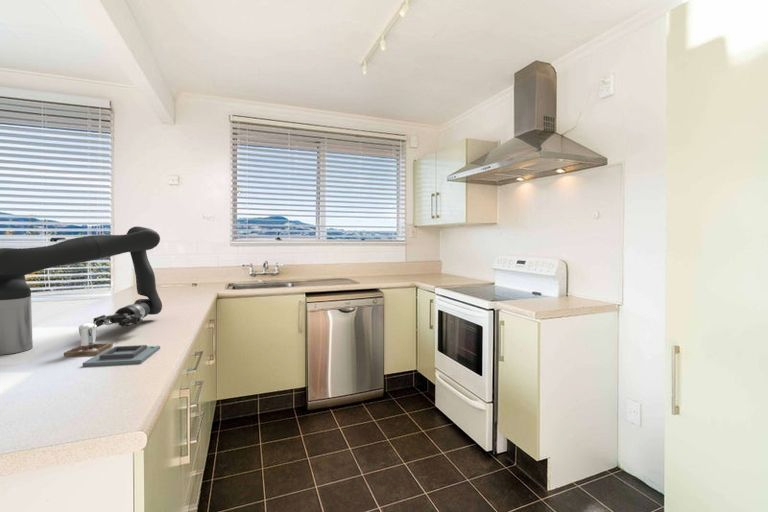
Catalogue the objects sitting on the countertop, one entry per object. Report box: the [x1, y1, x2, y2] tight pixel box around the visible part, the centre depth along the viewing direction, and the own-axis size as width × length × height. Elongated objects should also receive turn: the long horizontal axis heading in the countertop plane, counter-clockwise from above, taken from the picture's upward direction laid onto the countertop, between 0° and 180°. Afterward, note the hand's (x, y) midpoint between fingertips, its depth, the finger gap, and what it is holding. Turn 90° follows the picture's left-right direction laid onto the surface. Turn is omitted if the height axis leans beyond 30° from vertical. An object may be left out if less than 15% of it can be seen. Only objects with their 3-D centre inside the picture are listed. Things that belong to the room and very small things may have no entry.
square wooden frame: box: [63, 342, 113, 358], centre depth 114 cm, size 9×9×1 cm
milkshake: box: [78, 321, 98, 351], centre depth 114 cm, size 4×5×10 cm
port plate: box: [82, 344, 161, 368], centre depth 109 cm, size 15×14×2 cm
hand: (108, 324), depth 125 cm, fingers open, 8 cm apart
